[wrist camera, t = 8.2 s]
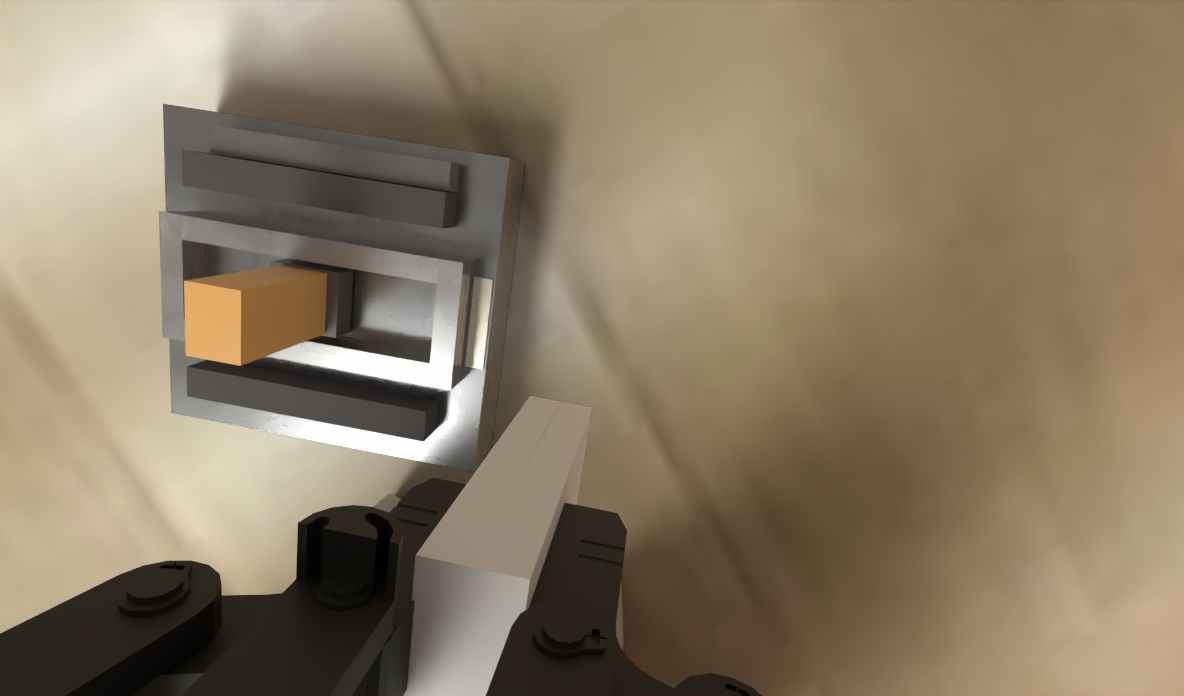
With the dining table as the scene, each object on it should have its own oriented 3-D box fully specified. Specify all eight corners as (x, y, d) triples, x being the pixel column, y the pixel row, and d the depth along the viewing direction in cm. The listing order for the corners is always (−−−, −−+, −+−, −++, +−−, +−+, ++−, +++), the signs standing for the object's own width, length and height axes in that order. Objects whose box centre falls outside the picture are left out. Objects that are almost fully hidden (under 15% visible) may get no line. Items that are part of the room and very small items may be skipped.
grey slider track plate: (210, 387, 28) (187, 396, 26) (207, 124, 25) (181, 119, 23) (435, 429, 27) (423, 441, 25) (460, 164, 24) (448, 161, 23)
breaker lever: (286, 320, 26) (172, 355, 20) (287, 258, 26) (169, 275, 19) (350, 332, 26) (254, 371, 20) (353, 270, 25) (255, 290, 19)
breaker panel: (216, 393, 31) (145, 423, 27) (215, 114, 28) (132, 97, 23) (491, 446, 30) (463, 486, 26) (525, 163, 27) (499, 154, 22)
